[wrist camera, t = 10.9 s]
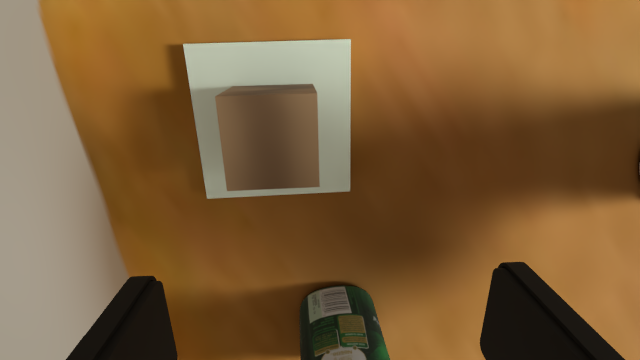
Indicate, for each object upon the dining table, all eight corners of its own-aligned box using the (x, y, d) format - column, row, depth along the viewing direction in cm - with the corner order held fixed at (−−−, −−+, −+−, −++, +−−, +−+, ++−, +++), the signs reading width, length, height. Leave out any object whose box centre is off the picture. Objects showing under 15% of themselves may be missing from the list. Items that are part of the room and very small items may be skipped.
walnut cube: (312, 83, 26) (317, 93, 21) (314, 159, 28) (319, 187, 23) (232, 86, 26) (215, 96, 20) (240, 162, 28) (226, 191, 23)
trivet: (347, 39, 27) (350, 39, 25) (347, 184, 31) (350, 191, 30) (189, 44, 26) (182, 43, 25) (211, 191, 31) (207, 198, 29)
